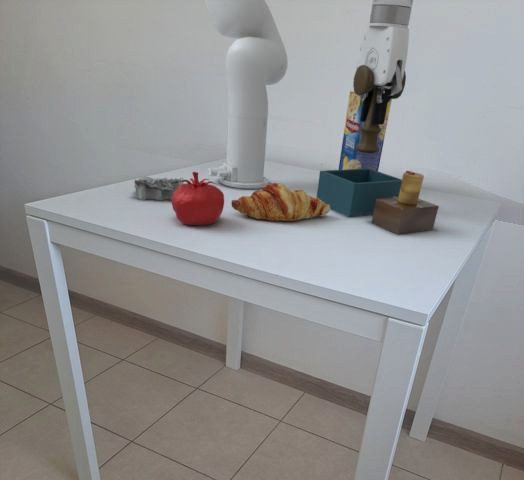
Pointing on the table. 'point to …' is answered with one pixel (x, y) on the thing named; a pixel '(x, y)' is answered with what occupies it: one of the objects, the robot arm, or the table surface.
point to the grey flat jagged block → (156, 188)
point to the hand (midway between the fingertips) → (371, 121)
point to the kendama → (368, 130)
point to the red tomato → (197, 202)
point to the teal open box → (356, 190)
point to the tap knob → (410, 188)
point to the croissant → (280, 204)
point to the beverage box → (359, 138)
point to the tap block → (404, 215)
